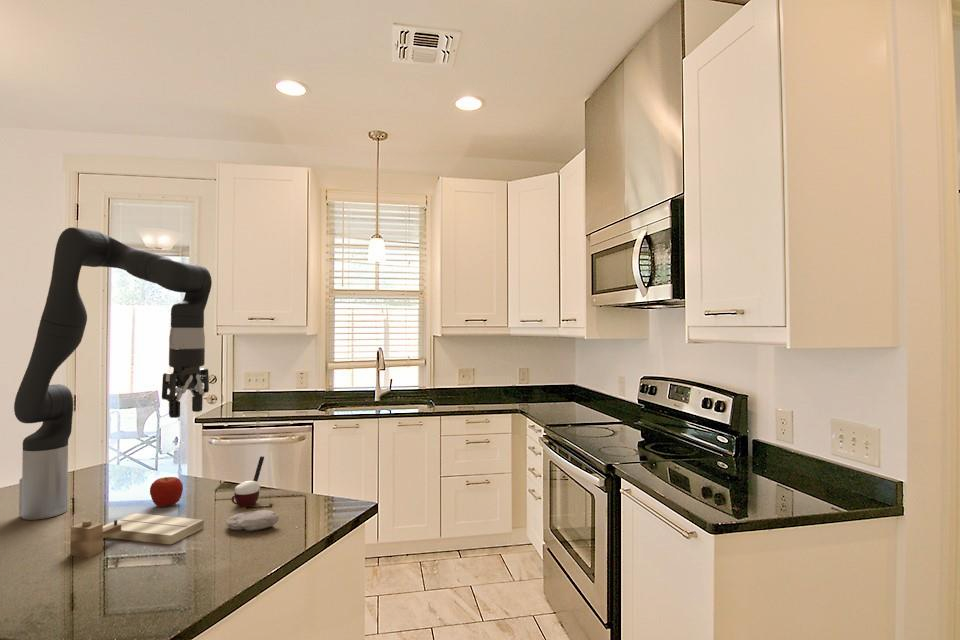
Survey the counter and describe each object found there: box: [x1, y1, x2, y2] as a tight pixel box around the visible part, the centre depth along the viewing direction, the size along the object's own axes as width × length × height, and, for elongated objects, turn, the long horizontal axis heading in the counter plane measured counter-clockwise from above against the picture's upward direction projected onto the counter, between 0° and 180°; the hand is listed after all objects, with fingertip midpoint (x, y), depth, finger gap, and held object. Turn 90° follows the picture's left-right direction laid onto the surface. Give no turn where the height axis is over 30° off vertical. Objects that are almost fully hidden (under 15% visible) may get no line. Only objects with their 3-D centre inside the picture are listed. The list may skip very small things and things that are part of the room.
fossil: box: [225, 509, 280, 532], centre depth 130 cm, size 12×4×10 cm
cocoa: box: [231, 455, 265, 507], centre depth 147 cm, size 10×6×12 cm, turn 127°
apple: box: [149, 476, 184, 508], centre depth 146 cm, size 8×8×8 cm
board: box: [103, 512, 205, 545], centre depth 127 cm, size 20×10×2 cm, turn 77°
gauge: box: [69, 519, 121, 558], centre depth 118 cm, size 5×9×7 cm, turn 167°
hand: (186, 414), depth 129 cm, fingers open, 8 cm apart
